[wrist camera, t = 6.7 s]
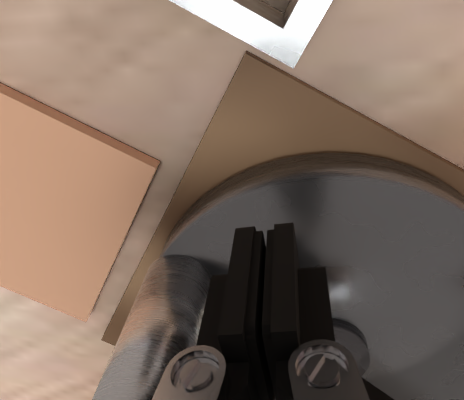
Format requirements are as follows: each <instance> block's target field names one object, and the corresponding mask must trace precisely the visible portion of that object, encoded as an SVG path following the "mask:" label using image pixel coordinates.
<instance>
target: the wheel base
mask: <svg viewBox="0 0 464 400" xmlns="http://www.w3.org/2000/svg"><path fill="white" fill-rule="evenodd" d="M320 153H347V154H361V155H367V156H373V157H379V158H385V159H389V160H392V161H396V162H399V163H402V164H406V165H409V166H412V167H414V168H417V169H419V170H421V171H423V172H426V173H428V174H430V175H432V176H434V177H436V178H438V179H440V180H441V181H443V182H444V183H446V184H448V185H449V186H451V187H452V188H454V189H456V190H457V191H458V192H459V193H460V194H462V195H463V196H464V170H463V169H461V168H460V167H458V166H456V165H454V164H452V163H451V162H449V161H447V160H445V159H443V158H441V157H440V156H438V155H436V154H434V153H432V152H430V151H429V150H427V149H425V148H423V147H421V146H419V145H418V144H416V143H414V142H412V141H410V140H408V139H407V138H405V137H403V136H401V135H399V134H397V133H396V132H394V131H392V130H390V129H388V128H387V127H385V126H383V125H381V124H379V123H377V122H376V121H374V120H372V119H370V118H368V117H366V116H365V115H363V114H361V113H359V112H357V111H355V110H354V109H352V108H350V107H348V106H346V105H344V104H343V103H341V102H339V101H337V100H335V99H333V98H332V97H330V96H328V95H326V94H324V93H323V92H321V91H319V90H317V89H315V88H313V87H312V86H310V85H308V84H306V83H304V82H302V81H301V80H299V79H297V78H295V77H293V76H291V75H290V74H288V73H286V72H284V71H282V70H280V69H279V68H277V67H275V66H273V65H271V64H270V63H268V62H266V61H264V60H262V59H260V58H259V57H257V56H255V55H253V54H251V53H249V52H248V51H246V53H245V55H244V57H243V59H242V61H241V63H240V65H239V67H238V68H237V70H236V72H235V74H234V76H233V78H232V80H231V82H230V84H229V86H228V88H227V90H226V92H225V94H224V96H223V98H222V100H221V102H220V104H219V106H218V108H217V110H216V112H215V114H214V116H213V118H212V120H211V122H210V124H209V126H208V128H207V130H206V132H205V134H204V136H203V138H202V140H201V142H200V144H199V146H198V148H197V150H196V152H195V154H194V156H193V158H192V160H191V162H190V164H189V166H188V168H187V170H186V172H185V174H184V176H183V178H182V180H181V182H180V184H179V186H178V188H177V190H176V192H175V194H174V196H173V198H172V200H171V202H170V204H169V206H168V208H167V210H166V212H165V214H164V216H163V218H162V220H161V222H160V224H159V226H158V228H157V230H156V232H155V234H154V236H153V238H152V240H151V242H150V244H149V246H148V248H147V250H146V252H145V254H144V256H143V258H142V260H141V262H140V264H139V266H138V268H137V270H136V272H135V274H134V276H133V278H132V280H131V282H130V284H129V286H128V288H127V290H126V291H125V293H124V295H123V297H122V299H121V301H120V303H119V305H118V307H117V309H116V311H115V313H114V315H113V317H112V319H111V321H110V323H109V325H108V327H107V329H106V331H105V333H104V335H103V338H102V341H105V342H107V343H110V344H112V345H114V346H115V345H116V343H117V341H118V339H119V336H120V334H121V332H122V329H123V327H124V325H125V322H126V320H127V318H128V315H129V313H130V311H131V308H132V306H133V304H134V301H135V299H136V297H137V294H138V292H139V290H140V287H141V285H142V283H143V280H144V278H145V276H146V273H147V271H148V269H149V267H150V265H151V264H152V263H153V262H154V261H155V260H157V259H158V258H159V257H160V254H161V252H162V249H163V247H164V245H165V242H166V240H167V237H168V236H169V234H170V233H171V231H172V230H173V228H174V226H175V225H176V223H177V222H178V220H179V219H180V218H181V217H182V216H183V215H184V213H185V212H186V211H187V210H188V209H189V208H190V207H191V205H193V204H194V203H195V202H196V201H197V200H199V199H200V198H201V197H202V196H203V195H204V194H206V193H207V192H208V191H209V190H211V189H213V188H214V187H216V186H217V185H219V184H220V183H222V182H223V181H225V180H227V179H228V178H230V177H233V176H235V175H237V174H239V173H241V172H243V171H245V170H248V169H250V168H252V167H255V166H259V165H262V164H265V163H268V162H271V161H274V160H278V159H283V158H288V157H294V156H299V155H306V154H320Z"/></svg>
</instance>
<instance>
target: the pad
mask: <svg viewBox="0 0 464 400" xmlns="http://www.w3.org/2000/svg"><path fill="white" fill-rule="evenodd" d="M159 163H160V161H158V160H156V159H154V158H152V157H150V156H148V155H146V154H144V153H142V152H140V151H138V150H136V149H134V148H132V147H130V146H128V145H126V144H124V143H122V142H120V141H118V140H115V139H113V138H111V137H109V136H107V135H105V134H103V133H101V132H99V131H97V130H95V129H93V128H91V127H89V126H87V125H85V124H83V123H81V122H79V121H77V120H75V119H73V118H71V117H69V116H67V115H65V114H63V113H60V112H58V111H56V110H54V109H52V108H50V107H48V106H46V105H44V104H42V103H40V102H38V101H36V100H34V99H32V98H30V97H28V96H26V95H24V94H22V93H20V92H18V91H16V90H14V89H12V88H10V87H7V86H5V85H3V84H1V83H0V286H2V287H4V288H6V289H9V290H11V291H13V292H16V293H18V294H21V295H23V296H25V297H28V298H30V299H32V300H35V301H37V302H40V303H42V304H44V305H47V306H49V307H51V308H54V309H56V310H59V311H61V312H63V313H66V314H68V315H70V316H73V317H75V318H77V319H80V320H82V321H85V322H86V321H87V319H88V317H89V315H90V314H91V312H92V309H93V307H94V305H95V303H96V301H97V299H98V296H99V294H100V292H101V290H102V288H103V285H104V283H105V281H106V279H107V277H108V275H109V272H110V270H111V268H112V266H113V264H114V261H115V259H116V257H117V255H118V253H119V251H120V248H121V246H122V244H123V242H124V240H125V238H126V235H127V233H128V231H129V229H130V227H131V224H132V222H133V220H134V218H135V216H136V214H137V211H138V209H139V207H140V205H141V203H142V201H143V198H144V196H145V194H146V192H147V190H148V187H149V185H150V183H151V181H152V179H153V177H154V174H155V172H156V170H157V168H158V166H159Z"/></svg>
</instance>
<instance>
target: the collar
mask: <svg viewBox="0 0 464 400" xmlns="http://www.w3.org/2000/svg"><path fill="white" fill-rule="evenodd" d="M170 1H171V2H173V3H175V4H177V5H179V6H180V7H182V8H184V9H186V10H188V11H190V12H191V13H193V14H195V15H197V16H199V17H200V18H202V19H204V20H206V21H208V22H210V23H211V24H213V25H215V26H217V27H219V28H220V29H222V30H224V31H226V32H228V33H230V34H231V35H233V36H235V37H237V38H239V39H240V40H242V41H244V42H246V43H248V44H250V45H251V46H253V47H255V48H257V49H259V50H260V51H262V52H264V53H266V54H268V55H270V56H271V57H273V58H275V59H277V60H279V61H280V62H282V63H284V64H286V65H288V66H290V67H291V68H293V69H294V67H295V65H296V64H297V62H298V60H299V58H300V57H301V55H302V53H303V51H304V50H305V48H306V46H307V44H308V43H309V41H310V39H311V37H312V36H313V34H314V32H315V30H316V29H317V27H318V25H319V23H320V22H321V20H322V18H323V16H324V15H325V13H326V11H327V9H328V8H329V6H330V4H331V2H332V1H333V0H291V1H290V3H289V4H288V6H287V8H286V10H285V12H284V13H282V12H281V11H279V10H277V9H275V8H274V7H272V6H270V5H268V4H267V3H265V2H263V1H261V0H170Z"/></svg>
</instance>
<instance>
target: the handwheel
mask: <svg viewBox="0 0 464 400" xmlns="http://www.w3.org/2000/svg"><path fill="white" fill-rule="evenodd" d="M292 222H293V223H294V229H295V236H296V243H297V250H298V257H299V265H300V268H309V267H321V266H325V267H326V274H327V282H328V290H329V298H330V305H331V313H332V321H333V329H334V336H335V342H337V343H339V344H341V345H343V346H344V347H346V348H347V349H348V350H349V351H350V352H351V354H352V355H353V357H354V359H355V361H356V364H357V366H358V369H359V372H360V375H361V377H362V378H364V379H365V380H367V381H368V382H370V383H371V384H373V385H374V386H375V387H377V388H378V389H380V390H381V391H383V392H384V393H386V394H387V395H388V396H390V397H391V398H393V399H394V400H464V196H463V195H462V194H460V193H459V192H458V191H457V190H456V189H454V188H452V187H451V186H449V185H448V184H446V183H444V182H443V181H441V180H440V179H438V178H436V177H434V176H432V175H430V174H428V173H426V172H423V171H421V170H419V169H417V168H414V167H412V166H409V165H406V164H402V163H399V162H396V161H392V160H389V159H385V158H379V157H373V156H367V155H361V154H347V153H320V154H306V155H299V156H294V157H288V158H283V159H278V160H274V161H271V162H268V163H265V164H262V165H259V166H255V167H252V168H250V169H248V170H245V171H243V172H241V173H239V174H237V175H235V176H233V177H230V178H228V179H227V180H225V181H223V182H222V183H220V184H219V185H217V186H216V187H214V188H213V189H211V190H209V191H208V192H207V193H206V194H204V195H203V196H202V197H201V198H200V199H199V200H197V201H196V202H195V203H194V204H193V205H191V207H190V208H189V209H188V210H187V211H186V212H185V213H184V215H183V216H182V217H181V218H180V219H179V220H178V222H177V223H176V225H175V226H174V228H173V230H172V231H171V233H170V234H169V236H168V237H167V240H166V242H165V245H164V247H163V249H162V252H161V254H160V257H159V258H158V259H157V260H155V261H154V262H153V263H152V264H151V265H150V267H149V269H148V271H147V273H146V276H145V278H144V280H143V283H142V285H141V287H140V290H139V292H138V294H137V297H136V299H135V301H134V304H133V306H132V308H131V311H130V313H129V315H128V318H127V320H126V322H125V325H124V327H123V329H122V332H121V334H120V336H119V339H118V341H117V343H116V345H115V348H114V350H113V352H112V355H111V357H110V359H109V362H108V364H107V366H106V369H105V371H104V373H103V376H102V378H101V380H100V383H99V385H98V387H97V390H96V392H95V394H94V397H93V399H92V400H148V399H150V398H151V397H152V396H153V395H154V393H155V391H156V389H157V386H158V384H159V382H160V380H161V378H162V375H163V373H164V371H165V369H166V367H167V365H168V364H169V362H170V360H171V359H172V358H173V357H174V356H175V355H177V354H178V353H179V352H181V351H183V350H184V349H186V348H189V347H193V346H196V344H197V339H198V335H199V330H200V326H201V321H202V316H203V312H204V307H205V303H206V298H207V294H208V289H209V284H210V280H211V277H212V276H213V275H221V274H228V269H229V263H230V257H231V251H232V245H233V239H234V233H235V229H236V228H242V227H252V226H255V228H256V231H263V234H264V239H265V245H266V241H267V230H273V229H274V224H282V223H292ZM275 400H276V399H275Z"/></svg>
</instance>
